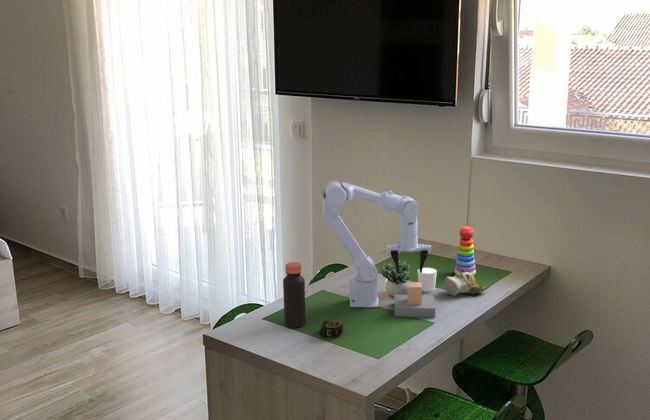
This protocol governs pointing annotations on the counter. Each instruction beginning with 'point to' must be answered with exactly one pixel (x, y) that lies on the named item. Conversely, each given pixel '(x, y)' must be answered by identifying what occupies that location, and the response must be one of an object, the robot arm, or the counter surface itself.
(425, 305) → the plinth
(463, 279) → the ceramic sculpture
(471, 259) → the stacking toy
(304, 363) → the counter surface
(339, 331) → the tape measure
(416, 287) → the terracotta block
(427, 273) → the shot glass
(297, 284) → the bottle
